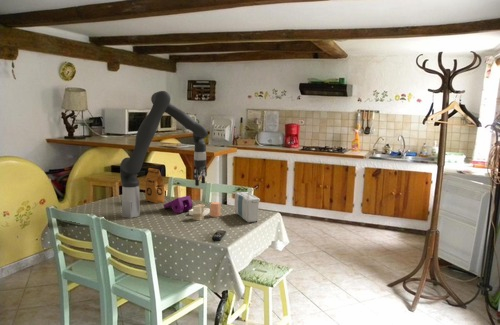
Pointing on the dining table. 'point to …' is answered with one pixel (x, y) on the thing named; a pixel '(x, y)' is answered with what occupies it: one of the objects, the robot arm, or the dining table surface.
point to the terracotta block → (215, 209)
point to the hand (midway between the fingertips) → (200, 184)
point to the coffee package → (154, 186)
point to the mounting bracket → (180, 204)
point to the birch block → (198, 212)
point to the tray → (206, 211)
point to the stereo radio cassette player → (247, 206)
